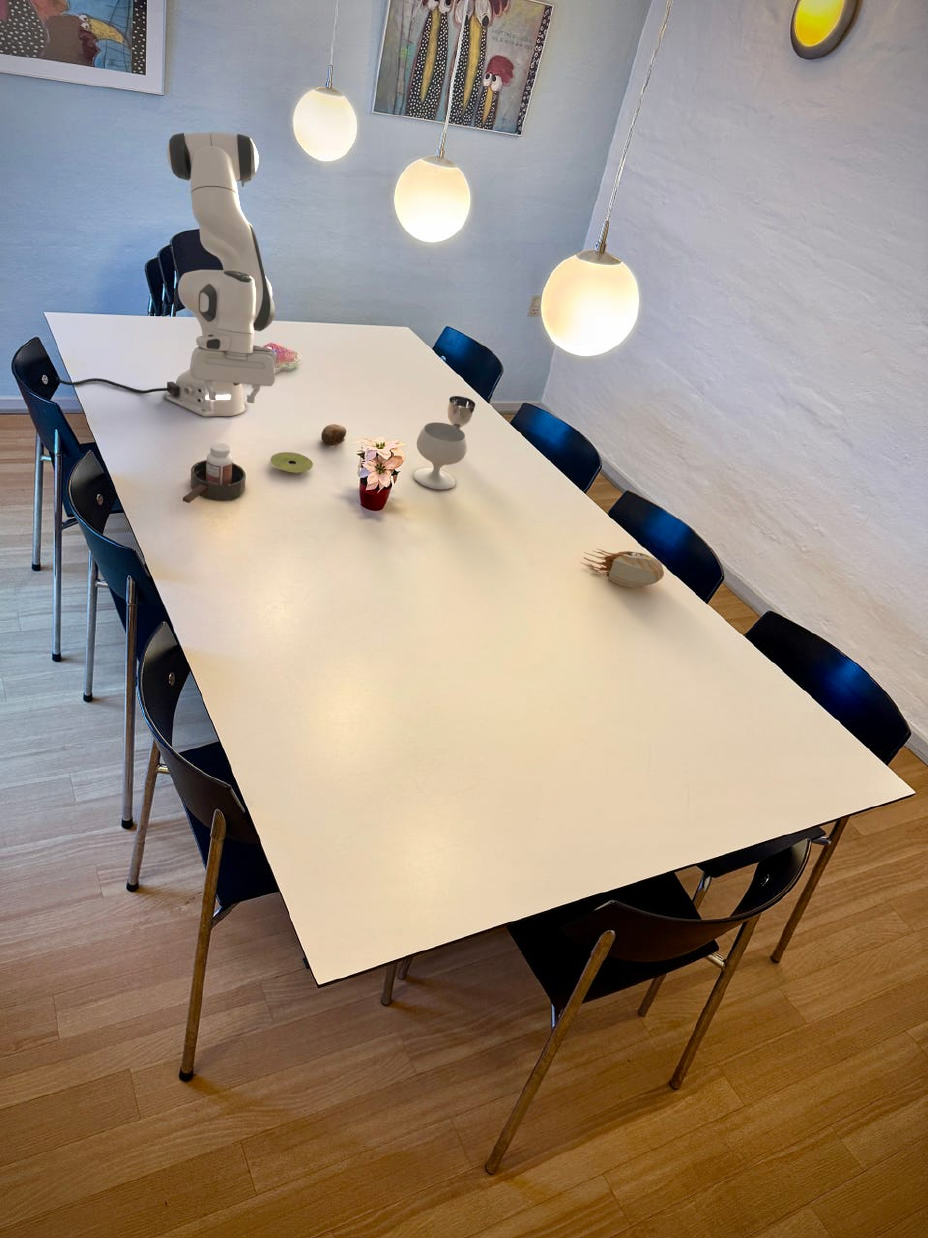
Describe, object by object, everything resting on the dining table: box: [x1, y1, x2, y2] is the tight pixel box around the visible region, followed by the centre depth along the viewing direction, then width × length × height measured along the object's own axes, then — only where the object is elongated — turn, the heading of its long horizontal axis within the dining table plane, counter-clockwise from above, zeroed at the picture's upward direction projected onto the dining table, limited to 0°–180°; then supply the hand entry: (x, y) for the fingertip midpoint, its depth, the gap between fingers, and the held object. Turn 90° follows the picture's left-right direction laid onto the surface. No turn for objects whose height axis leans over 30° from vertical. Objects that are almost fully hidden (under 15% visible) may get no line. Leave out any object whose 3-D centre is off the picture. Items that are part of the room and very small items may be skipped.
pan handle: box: [182, 483, 208, 504], centre depth 212 cm, size 2×9×1 cm, turn 165°
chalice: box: [413, 421, 468, 490], centre depth 247 cm, size 14×14×15 cm
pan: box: [190, 459, 247, 502], centre depth 222 cm, size 13×13×4 cm
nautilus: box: [579, 548, 665, 589], centre depth 228 cm, size 8×22×15 cm
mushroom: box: [320, 423, 347, 447], centre depth 255 cm, size 8×8×6 cm
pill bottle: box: [206, 442, 233, 485], centre depth 220 cm, size 6×6×11 cm
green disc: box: [270, 451, 314, 473], centre depth 239 cm, size 11×11×2 cm
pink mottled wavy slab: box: [262, 342, 303, 374], centre depth 288 cm, size 30×15×5 cm, turn 158°
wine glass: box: [447, 395, 476, 430], centre depth 267 cm, size 8×8×15 cm
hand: (231, 401), depth 219 cm, fingers open, 8 cm apart
